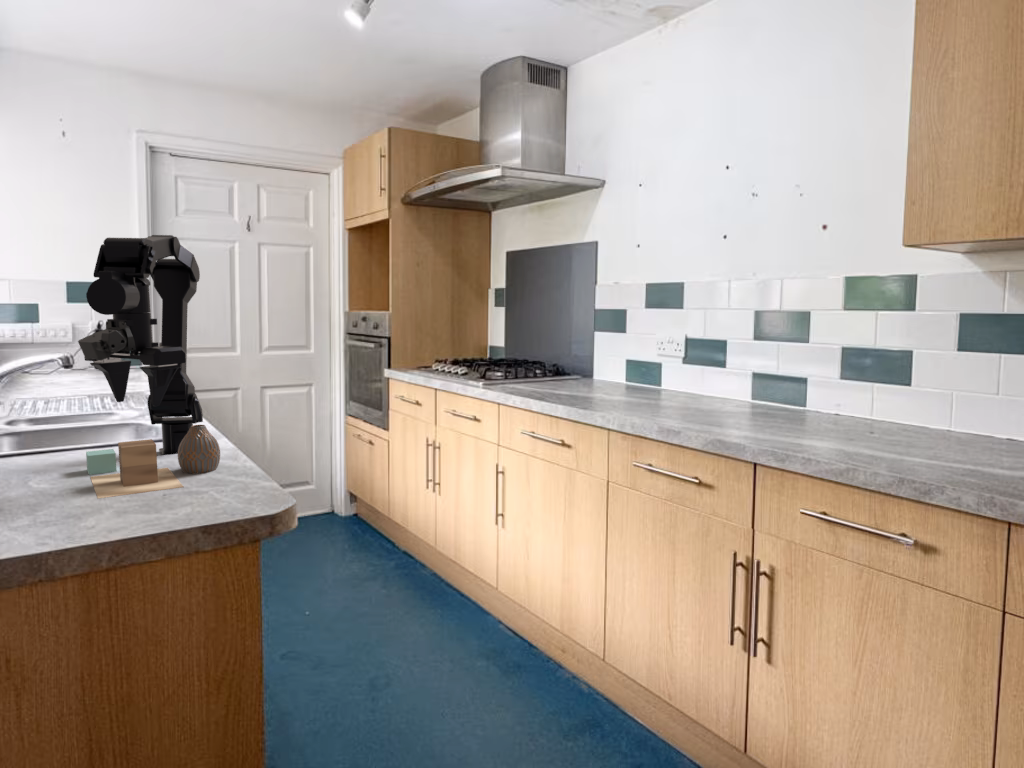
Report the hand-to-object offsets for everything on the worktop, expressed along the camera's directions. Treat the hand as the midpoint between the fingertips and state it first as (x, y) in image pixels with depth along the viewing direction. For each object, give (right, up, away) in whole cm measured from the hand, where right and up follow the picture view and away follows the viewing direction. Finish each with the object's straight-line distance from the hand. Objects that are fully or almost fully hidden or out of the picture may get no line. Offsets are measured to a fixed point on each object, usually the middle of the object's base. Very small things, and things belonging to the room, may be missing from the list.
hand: (137, 403), depth 121 cm
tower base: (+3, -13, -4) cm, 14 cm away
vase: (+9, -13, +4) cm, 16 cm away
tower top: (+3, -10, -5) cm, 11 cm away
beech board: (+2, -14, -5) cm, 14 cm away
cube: (-8, -13, +3) cm, 15 cm away
